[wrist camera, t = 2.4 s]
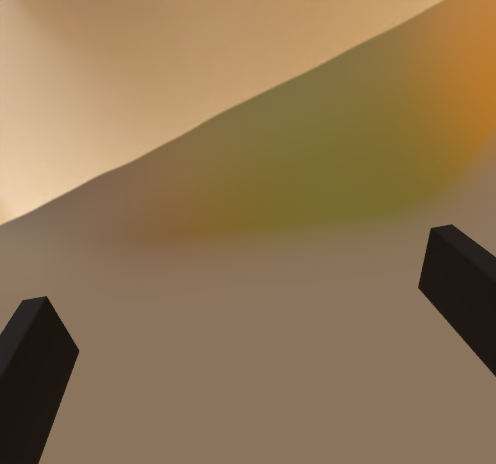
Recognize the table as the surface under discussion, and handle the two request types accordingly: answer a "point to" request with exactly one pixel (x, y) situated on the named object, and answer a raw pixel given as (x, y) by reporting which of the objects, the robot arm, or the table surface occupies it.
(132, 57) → the table surface
